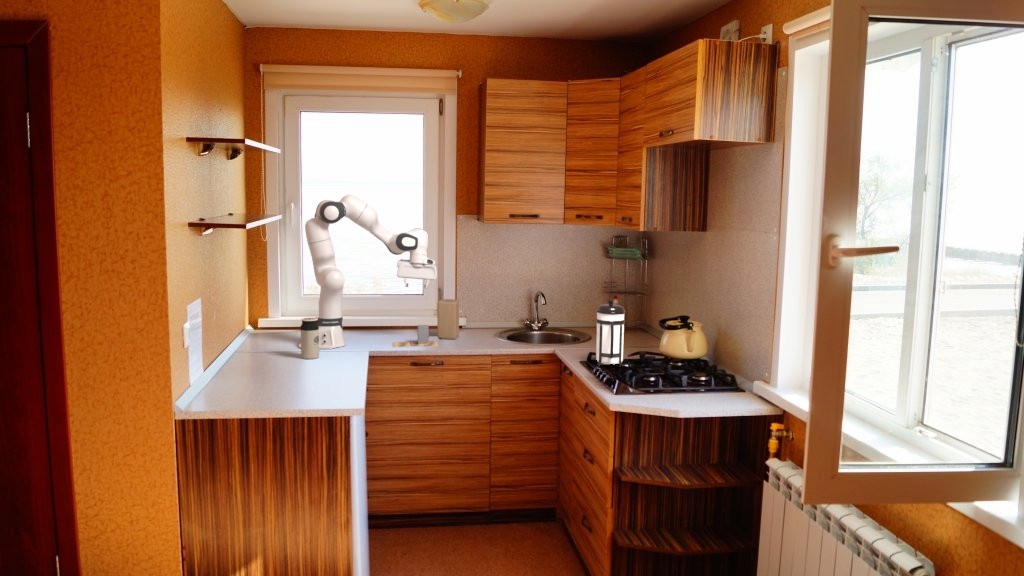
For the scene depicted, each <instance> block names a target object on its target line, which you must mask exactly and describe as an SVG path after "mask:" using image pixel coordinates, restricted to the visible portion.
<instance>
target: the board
mask: <svg viewBox="0 0 1024 576" xmlns="http://www.w3.org/2000/svg"><path fill="white" fill-rule="evenodd" d="M391 344H392V347H393V348H401V347H403V348H407V347H409V348H410V347H438V346H439V344H438V342H437V341H435V340H434V341H433V340H429V345H418V341H393V342H392V343H391Z"/></svg>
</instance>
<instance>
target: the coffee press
mask: <svg viewBox="0 0 1024 576" xmlns="http://www.w3.org/2000/svg"><path fill="white" fill-rule="evenodd" d="M614 302H615V301H614V299H613V298H610V299H608V303H603V304H600V305H599V306H598V307H597V309H595V312H596V319H595V320H596V321H595V322H596V341H595V343H596V345H595V351H596V352H595V361H596V360H597V362H598V363H596V366H597V365H598V366H600V365H602V366H603V365H610V364H613V365H615V364H619V365H620V366H621V365H623V366H624V364H623V361H624V339H625V338H624V337H625V336H624V333H625V323H626V322H625V321H626V320H625V314H626V310H625V308H624V306H622V305H620V304H616V303H614Z"/></svg>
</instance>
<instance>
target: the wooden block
mask: <svg viewBox="0 0 1024 576" xmlns="http://www.w3.org/2000/svg"><path fill="white" fill-rule="evenodd" d="M436 308H437V309H436V310H437V312H436V313H437V316H436V317H437V332H436V333H437V338H438V339H439V338H441V339H440V340H456V339H457V338H458V337H459V336H460V301H459V299H447V298H444V299H443V298H442V299H440V300H438V301H437V307H436Z"/></svg>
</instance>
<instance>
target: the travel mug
mask: <svg viewBox="0 0 1024 576" xmlns="http://www.w3.org/2000/svg"><path fill="white" fill-rule="evenodd" d="M300 320H301V325H300V343H301V348H300V349H301V350H300V352H301V353H300V354H301V355H300V357H301V358H302V359H304V360H315V359H318V358H319V357H320V349H319V325H318V324H317V320H318V318H315V317H303V318H301V319H300Z"/></svg>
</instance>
